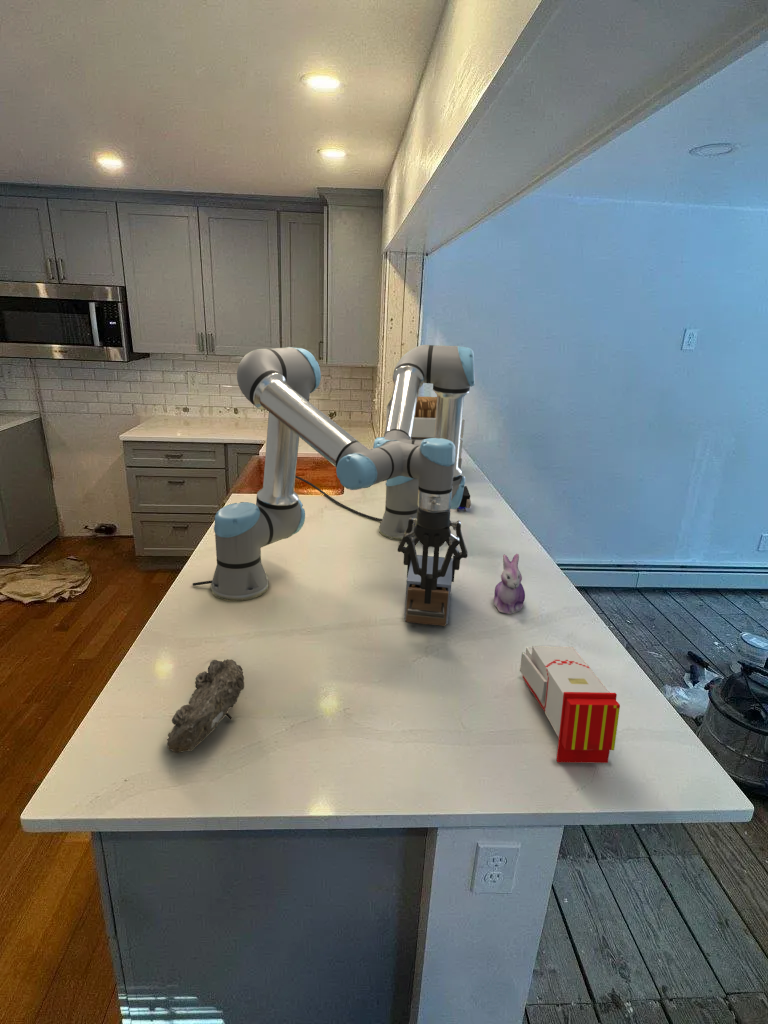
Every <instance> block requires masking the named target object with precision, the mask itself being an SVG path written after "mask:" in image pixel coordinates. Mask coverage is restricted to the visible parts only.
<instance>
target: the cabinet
mask: <svg viewBox="0 0 768 1024" xmlns="http://www.w3.org/2000/svg"><path fill="white" fill-rule="evenodd" d="M433 557H434V555H428V562H427V574H432V572H433ZM417 558H418V563H419V568H422V554H417ZM444 558H445V556H439V563H438V570H440V569H441V567H442V564H443V561H444ZM452 564H453V557H452V558H451V560H450V563H449V566H448V569H447V572H446V575H445V576H444V577H438V579H437V587H445V588H446V591H449V594H448V605H447V616H446V625H448V624H449V617H450V607H451V596H452V585H453V582H452ZM412 584H415V585H421V576H420V575H415V574H414V572H413V567H412V562H410V567H409V572H408V576H407V575H406V583H405V599H404V615H403V620H404V621H406V609H407V593H408V587H412Z"/></svg>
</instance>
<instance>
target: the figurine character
mask: <svg viewBox="0 0 768 1024" xmlns="http://www.w3.org/2000/svg"><path fill="white" fill-rule="evenodd" d="M471 501H472V500H471V494H470V491H469V488H468V486H467V485H464V491H463V495H462V499H461V503H460V506H459V507H458V508H457V509H456V511H457V512H460V510H463V511H464V513H466V512H467V509H470V508H471V505H472V504H471ZM466 508H467V509H466Z"/></svg>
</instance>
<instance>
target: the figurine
mask: <svg viewBox="0 0 768 1024" xmlns="http://www.w3.org/2000/svg"><path fill="white" fill-rule="evenodd" d="M511 559H512V560H510V559H509V557H508V555H506V554H503V555H502V565H503V566H502V567H503V570H502V572H501V574H500V579H501V581H499V582H498V583H497V584H496V585H495V588H494V597H493V606H494V607H495V608H496V609H497V611H498V612H499V613H503V614H510V615H512V614H514V613H518V612H520V611H521V610H522V609H523V606H524V603H525V599H526V592H525V589H524V585H523V584H522V580H523V576H522V573H521V570H520V569H519V561H520V555H519V553H515V554H514V555H513V557H512V558H511Z"/></svg>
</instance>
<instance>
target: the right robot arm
mask: <svg viewBox="0 0 768 1024" xmlns="http://www.w3.org/2000/svg"><path fill="white" fill-rule="evenodd" d="M475 379H476V378H475V353H474V350H473V349H472V348H471V347H467V346H461V345H435V344H434V345H433V344H421V345H418V346H415V347H413V348H411V349H410V350H408V351H407V352H405V354H404V355H402V356H401V358H399V360H398V361H397V363H396V365H395V367H394V370H393V373H392V382H393V384H394V385H393V389H392V393H391V394H392V395H391V398H392V399H391V398H390V400H391V404H390V409H389V414H388V418H387V423H386V422H385V423H386V424H385V429H384V433H383V436H378V437H376V438H375V439H374V440H373V446H372V449H373V448H374V446H375V445H377V444H378V442H379V441H381V440H396V441H399V442H404V443H409V444H414V445H419V446H421V442H422V441H423V440H411V435H412V429H413V423H414V417H415V411H416V404H417V398H418V397H419V392H420V388H422V387H423V386H424V384H431V385H432V391H433V392H434V393H435V395H436V397H437V404H436V418H435V433H434V438H439V439H440V438H442V439H447V440H450V441H451V442H453V444H454V446H455V463H454V470H453V481H452V498H451V507H450V508H449V510H450V511H451V510H457V508H458V507H459V506H460V503H461V499H462V495H463V491H464V486H466V485H465V484H466V477H465V476H464V475H463V474H462V473H463V472H462V469H461V470H460V469H459V467H458V459H459V447H460V439H461V438H460V436H461V425H462V419H463V414H464V403H465V397H466V396H467V395H468V394H469V393H470V388H471V387H474V386H475V385H476V384H475V383H476V381H475ZM295 479H296V480H297V479H298V480H300V481H302V482H303V483H305V484H307V485H309V486H311V487H313V488H314V489H315V490H317V491H318V492H319V493H320V494H322V495H323V496H325V497H326V498H327V499H329V500H330V501H332V502H333V503H335V504H337V505H339V506H340V507H342V508H344V509H346V510H348V511H349V512H352V513H353V514H356V515H359V516H361V517H364V518H367V519H370V520H373V521H377V522H379V526H378V533H379V534H380V535H381V536H382V537H385V538H387V539H389V540H395V541H400V542H399V544H398V546H397V552H398V553H402V554H403V565H404V566H406V567H407V568H406V577H407V576H408V572H409V567H410V562H411V557H410V552H409V548H408V545H406V544H407V543H406V542H405V540H404V537H405V534H406V533H410V532H412V531H414V528H415V526H416V521H417V508H418V507H419V506H418V505H417V504H418V488H419V479H414V478H409V477H405V476H397V477H394V478H392V479H389V480H386V481H385V504H384V505H385V507H384V508H385V509H384V513H383V515H382V518H380V517H379V518H378V517H375V516H373V515H369V514H366V513H363V512H360V511H358V510H356V509H353V508H351V507H349V506H347V505H345V504H343V503H341V502H339V501H338V500H336V499H335V498H333V497H332V496H331V495H329V494H327V493H326V492H324V491H323V490H322V489H320V488H319V487H318V486H316V485H315V484H313V483H312V482H310V481H308V480H306V479H305V478H302V477H300V476H298V475H296V476H295ZM449 528H452V530H453V531H455V535H456V536H457V537H459V545H458V546H459V549H460V550H459V549H458V546H457V547H456V548H455V549H454V552H453V555H452V558H453V564H452V583H454V582H455V574H456V571H459V570H460V566H461V559H467V558H468V549H467V545H466V543H465V539H464V536H463V532H462V522H461V520H457V521H452V520H450V524H449ZM414 543H415V547H416V546H417V544H419V543H420V541H419V540H418V539H417V537H416V536H415V541H414ZM445 543H446V545H447V547H449V538H448V539H447V540H446V541H445ZM405 545H406V546H405Z"/></svg>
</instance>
